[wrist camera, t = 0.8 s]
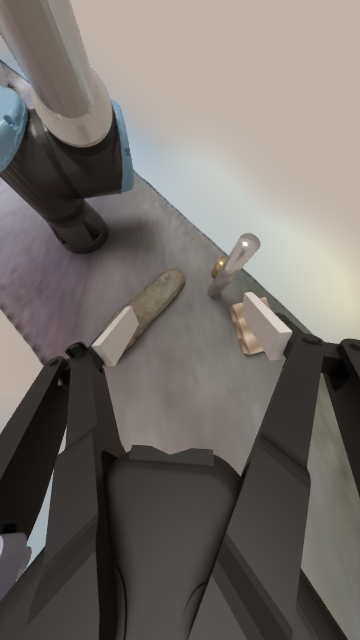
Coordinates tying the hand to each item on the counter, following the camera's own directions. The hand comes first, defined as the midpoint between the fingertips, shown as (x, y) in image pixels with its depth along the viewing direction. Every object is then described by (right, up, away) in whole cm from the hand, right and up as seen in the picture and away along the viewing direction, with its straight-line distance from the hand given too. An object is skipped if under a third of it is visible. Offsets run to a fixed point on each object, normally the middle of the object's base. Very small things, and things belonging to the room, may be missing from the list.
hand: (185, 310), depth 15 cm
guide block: (+21, -3, +23) cm, 31 cm away
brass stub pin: (+11, +14, +26) cm, 32 cm away
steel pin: (+10, +7, +25) cm, 28 cm away
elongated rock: (-12, +1, +23) cm, 26 cm away
